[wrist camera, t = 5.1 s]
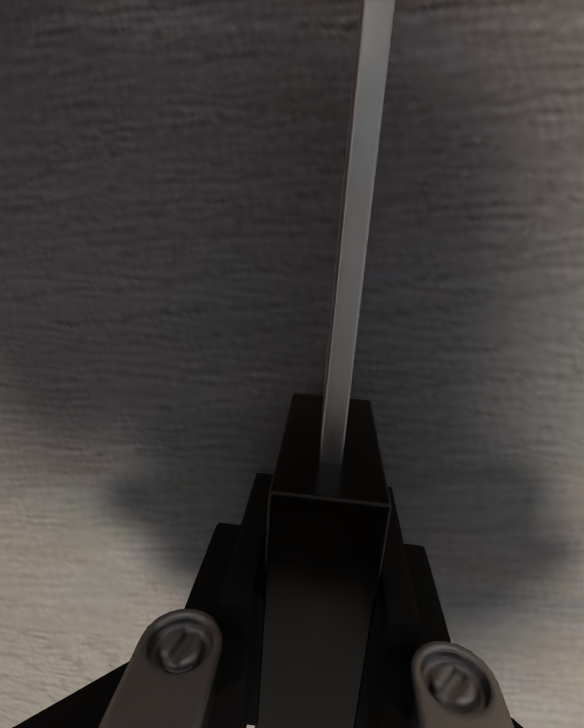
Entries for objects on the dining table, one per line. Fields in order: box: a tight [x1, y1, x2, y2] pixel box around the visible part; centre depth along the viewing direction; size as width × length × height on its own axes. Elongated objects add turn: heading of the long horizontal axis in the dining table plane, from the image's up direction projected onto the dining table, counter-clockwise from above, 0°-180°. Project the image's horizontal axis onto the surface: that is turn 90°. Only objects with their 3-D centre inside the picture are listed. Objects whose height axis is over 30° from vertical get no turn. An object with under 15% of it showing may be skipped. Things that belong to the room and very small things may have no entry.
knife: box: [255, 0, 396, 728], centre depth 8 cm, size 16×2×4 cm, turn 176°
